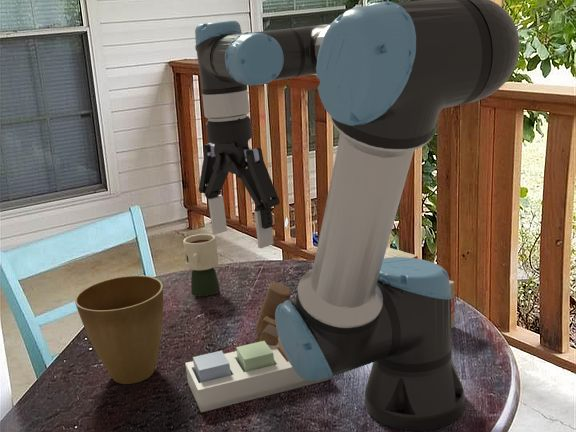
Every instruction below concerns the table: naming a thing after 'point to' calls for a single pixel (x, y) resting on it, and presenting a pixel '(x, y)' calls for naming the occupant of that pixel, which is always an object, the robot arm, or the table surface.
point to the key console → (245, 382)
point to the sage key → (254, 356)
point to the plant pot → (124, 324)
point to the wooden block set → (271, 313)
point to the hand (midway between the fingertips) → (242, 239)
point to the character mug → (202, 263)
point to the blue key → (211, 366)
